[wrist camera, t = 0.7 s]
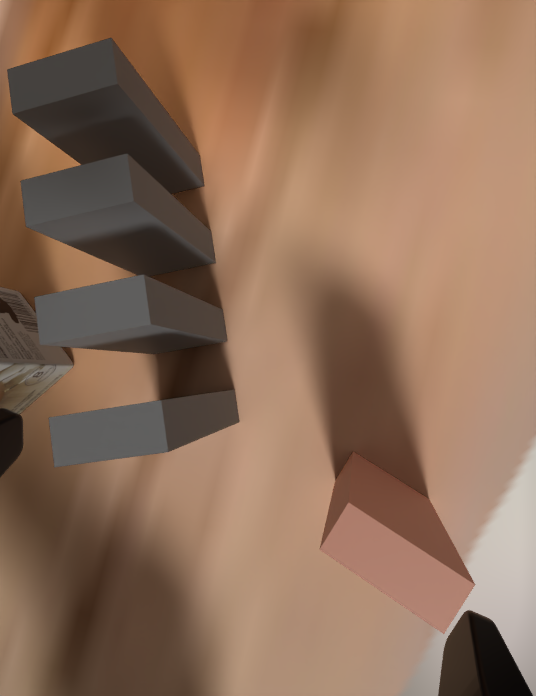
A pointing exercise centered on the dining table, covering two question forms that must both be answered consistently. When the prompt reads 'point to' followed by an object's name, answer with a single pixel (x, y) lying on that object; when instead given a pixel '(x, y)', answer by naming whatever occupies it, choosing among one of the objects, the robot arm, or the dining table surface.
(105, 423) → the domino
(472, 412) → the dining table surface
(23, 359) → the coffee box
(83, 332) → the domino
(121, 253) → the domino
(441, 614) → the loose domino
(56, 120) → the domino
